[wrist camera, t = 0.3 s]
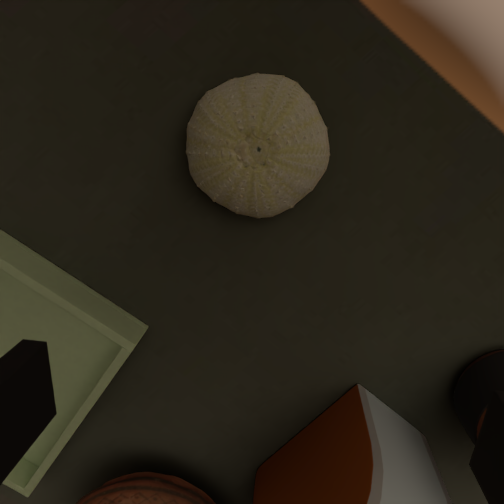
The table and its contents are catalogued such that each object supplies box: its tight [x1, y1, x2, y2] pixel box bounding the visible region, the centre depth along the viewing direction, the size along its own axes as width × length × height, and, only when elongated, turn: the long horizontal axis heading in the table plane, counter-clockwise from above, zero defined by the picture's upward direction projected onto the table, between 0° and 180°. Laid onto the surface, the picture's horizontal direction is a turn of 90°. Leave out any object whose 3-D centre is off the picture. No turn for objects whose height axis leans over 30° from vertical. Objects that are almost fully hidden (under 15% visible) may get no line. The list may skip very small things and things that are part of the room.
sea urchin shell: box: [186, 73, 330, 219], centre depth 26 cm, size 9×8×8 cm
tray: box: [0, 229, 149, 497], centre depth 35 cm, size 22×15×3 cm
